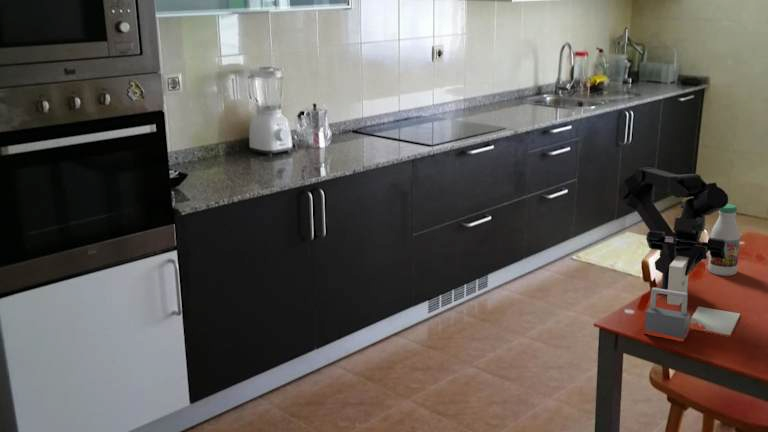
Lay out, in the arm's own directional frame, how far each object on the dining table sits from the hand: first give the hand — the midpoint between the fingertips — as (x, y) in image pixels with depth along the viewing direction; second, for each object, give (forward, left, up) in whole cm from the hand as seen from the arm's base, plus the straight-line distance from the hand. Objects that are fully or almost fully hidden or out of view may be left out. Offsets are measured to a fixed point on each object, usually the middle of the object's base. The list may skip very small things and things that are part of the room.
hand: (678, 274), depth 196 cm
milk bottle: (-40, +4, -12) cm, 42 cm away
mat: (-2, +9, -12) cm, 15 cm away
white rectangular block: (0, 0, -7) cm, 7 cm away
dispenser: (+10, 0, -12) cm, 16 cm away
